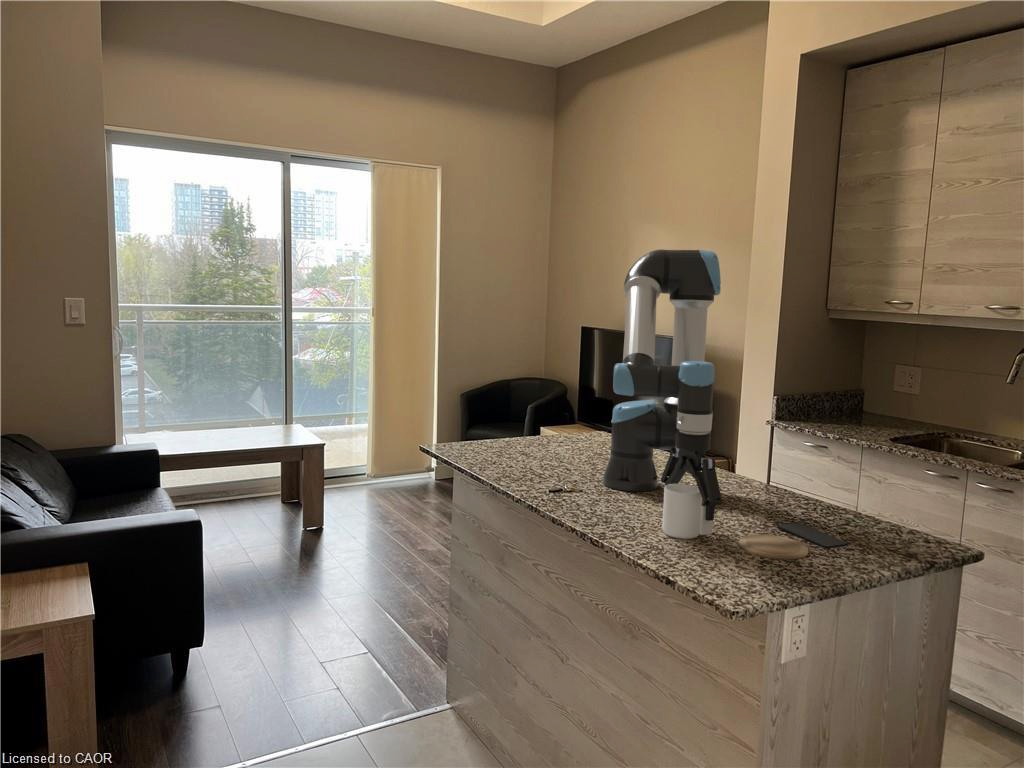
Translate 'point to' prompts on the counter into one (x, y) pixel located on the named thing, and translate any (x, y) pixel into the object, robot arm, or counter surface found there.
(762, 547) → the coaster
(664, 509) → the mug
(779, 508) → the counter surface
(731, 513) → the counter surface
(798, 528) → the smartphone
